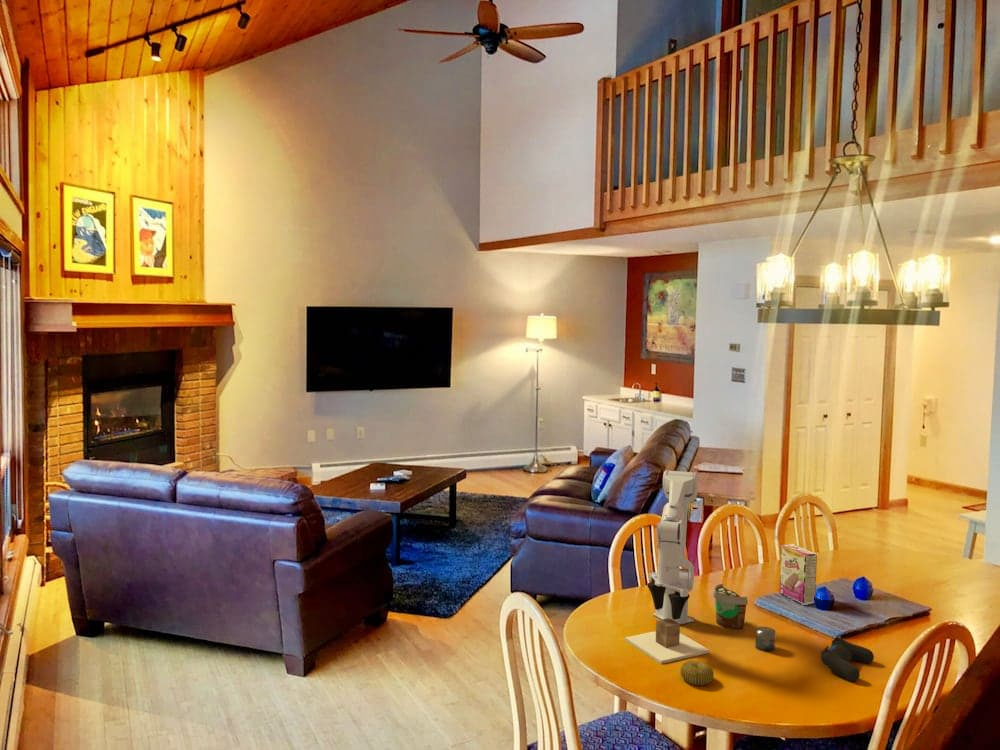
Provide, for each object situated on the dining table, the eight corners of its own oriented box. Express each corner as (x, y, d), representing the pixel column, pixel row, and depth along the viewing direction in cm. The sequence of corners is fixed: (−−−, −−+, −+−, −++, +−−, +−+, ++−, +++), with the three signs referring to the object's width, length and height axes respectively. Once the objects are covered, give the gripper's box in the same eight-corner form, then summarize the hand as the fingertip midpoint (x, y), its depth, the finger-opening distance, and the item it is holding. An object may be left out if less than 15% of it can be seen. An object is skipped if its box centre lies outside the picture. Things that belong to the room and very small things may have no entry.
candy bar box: (778, 594, 256) (780, 544, 255) (790, 592, 258) (792, 543, 256) (803, 606, 246) (805, 554, 244) (815, 604, 247) (818, 553, 246)
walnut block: (655, 641, 217) (656, 620, 216) (668, 638, 219) (669, 617, 218) (666, 648, 213) (666, 626, 212) (679, 645, 215) (679, 623, 214)
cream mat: (625, 640, 219) (625, 637, 219) (671, 630, 226) (671, 627, 226) (660, 664, 205) (660, 661, 205) (709, 652, 212) (709, 649, 212)
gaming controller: (865, 668, 209) (832, 640, 214) (878, 653, 207) (845, 626, 212) (846, 692, 196) (812, 661, 201) (860, 676, 194) (825, 646, 199)
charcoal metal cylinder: (751, 646, 217) (752, 628, 216) (765, 642, 219) (765, 625, 218) (764, 653, 212) (765, 635, 212) (778, 650, 214) (779, 632, 214)
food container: (703, 618, 236) (704, 585, 235) (720, 615, 238) (721, 583, 237) (728, 634, 224) (730, 600, 223) (746, 631, 226) (748, 597, 226)
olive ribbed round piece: (720, 665, 196) (701, 675, 190) (719, 681, 196) (701, 691, 191) (692, 654, 202) (674, 664, 196) (692, 669, 202) (673, 679, 197)
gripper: (640, 559, 218) (639, 606, 220) (673, 575, 205) (672, 625, 207) (661, 555, 222) (659, 602, 223) (695, 571, 209) (693, 621, 210)
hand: (667, 613), depth 215 cm, fingers open, 7 cm apart
